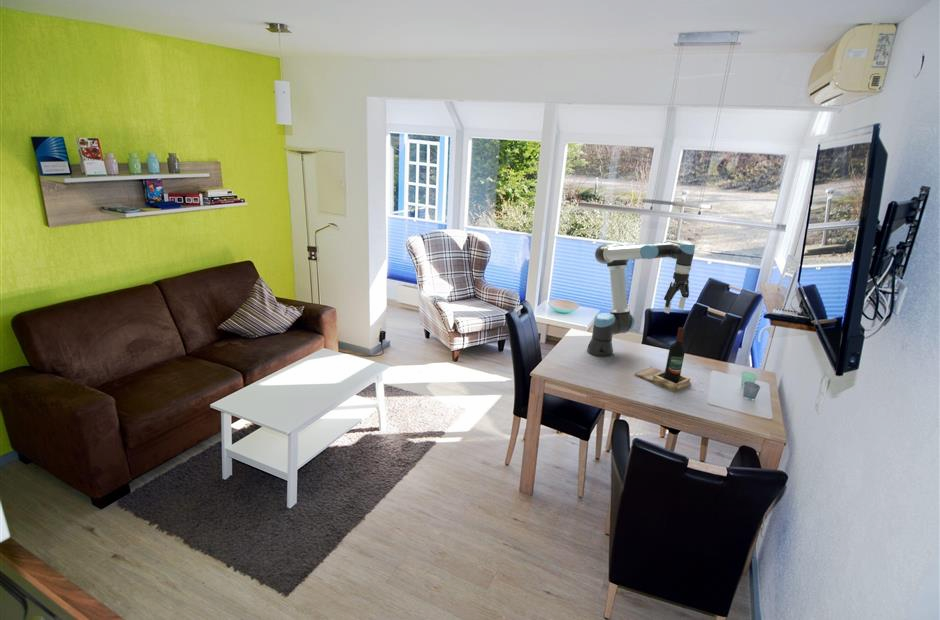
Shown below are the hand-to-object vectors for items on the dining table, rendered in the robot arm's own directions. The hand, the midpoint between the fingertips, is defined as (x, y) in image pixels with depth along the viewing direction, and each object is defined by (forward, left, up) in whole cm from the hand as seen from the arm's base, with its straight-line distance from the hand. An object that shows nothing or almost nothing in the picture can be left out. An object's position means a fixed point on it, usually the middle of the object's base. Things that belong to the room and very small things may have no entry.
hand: (673, 310), depth 271 cm
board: (+6, -9, -36) cm, 38 cm away
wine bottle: (+11, -9, -35) cm, 38 cm away
